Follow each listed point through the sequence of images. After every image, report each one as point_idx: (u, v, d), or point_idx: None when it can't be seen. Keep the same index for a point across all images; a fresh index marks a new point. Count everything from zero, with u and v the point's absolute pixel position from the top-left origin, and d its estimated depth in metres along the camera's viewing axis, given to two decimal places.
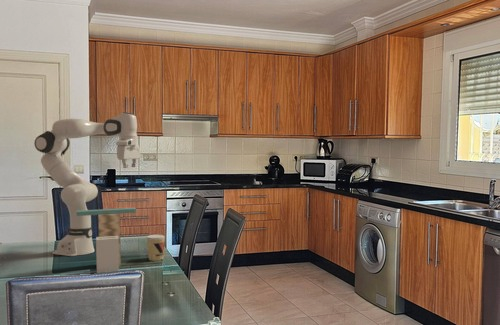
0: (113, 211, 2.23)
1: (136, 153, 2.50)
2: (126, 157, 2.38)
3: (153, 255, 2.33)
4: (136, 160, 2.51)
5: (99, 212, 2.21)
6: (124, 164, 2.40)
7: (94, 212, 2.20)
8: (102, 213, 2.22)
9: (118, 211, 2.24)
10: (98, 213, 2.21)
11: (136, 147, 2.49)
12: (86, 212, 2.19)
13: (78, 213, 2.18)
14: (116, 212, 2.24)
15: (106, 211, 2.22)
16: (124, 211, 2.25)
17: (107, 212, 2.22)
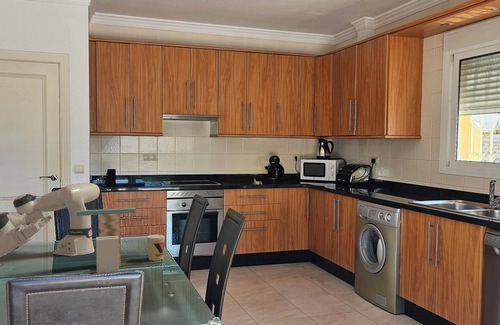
0: (113, 211, 2.23)
1: (34, 221, 2.19)
2: (34, 223, 2.08)
3: (153, 255, 2.33)
4: (43, 218, 2.21)
5: (99, 212, 2.21)
6: (44, 222, 2.11)
7: (94, 212, 2.20)
8: (102, 213, 2.22)
9: (118, 211, 2.24)
10: (98, 213, 2.21)
11: (28, 225, 2.18)
12: (86, 212, 2.19)
13: (78, 213, 2.18)
14: (116, 212, 2.24)
15: (106, 211, 2.22)
16: (124, 211, 2.25)
17: (107, 212, 2.22)
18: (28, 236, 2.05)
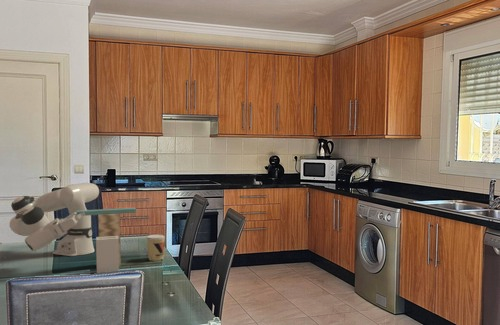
0: (113, 211, 2.23)
1: (69, 215, 2.24)
2: (71, 217, 2.13)
3: (153, 255, 2.33)
4: None
5: (99, 212, 2.21)
6: (81, 215, 2.17)
7: (94, 212, 2.20)
8: (102, 213, 2.22)
9: (118, 211, 2.24)
10: (98, 213, 2.21)
11: None
12: (86, 212, 2.19)
13: (78, 213, 2.18)
14: (116, 212, 2.24)
15: (106, 211, 2.22)
16: (124, 211, 2.25)
17: (107, 212, 2.22)
18: (65, 229, 2.10)
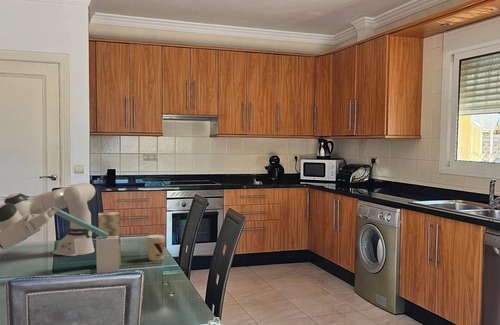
0: (86, 226, 2.09)
1: (43, 212, 2.11)
2: (43, 213, 2.00)
3: (153, 255, 2.33)
4: None
5: (72, 219, 2.07)
6: (54, 211, 2.04)
7: (68, 217, 2.07)
8: (75, 222, 2.08)
9: (90, 228, 2.10)
10: (71, 220, 2.07)
11: (37, 215, 2.10)
12: (60, 213, 2.06)
13: None
14: (88, 228, 2.10)
15: (79, 222, 2.08)
16: (96, 231, 2.11)
17: (80, 223, 2.08)
18: (37, 226, 1.97)
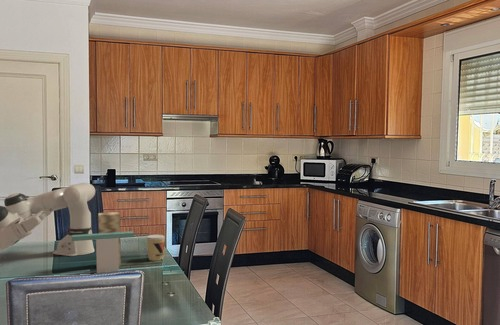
0: (110, 235, 2.12)
1: (35, 214, 2.09)
2: (35, 216, 1.98)
3: (153, 255, 2.33)
4: (44, 211, 2.11)
5: (95, 237, 2.10)
6: (45, 214, 2.01)
7: (90, 237, 2.10)
8: (98, 238, 2.11)
9: (115, 235, 2.13)
10: (94, 238, 2.10)
11: (28, 218, 2.08)
12: (82, 237, 2.09)
13: (73, 238, 2.08)
14: (113, 236, 2.13)
15: (103, 236, 2.11)
16: (122, 235, 2.14)
17: (104, 237, 2.12)
18: (28, 229, 1.95)
